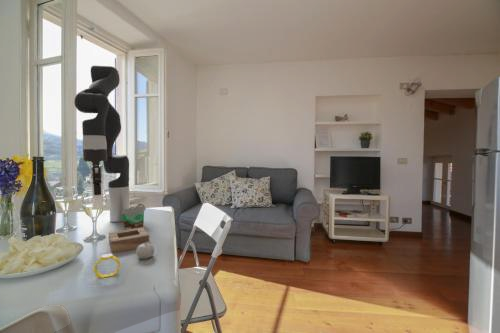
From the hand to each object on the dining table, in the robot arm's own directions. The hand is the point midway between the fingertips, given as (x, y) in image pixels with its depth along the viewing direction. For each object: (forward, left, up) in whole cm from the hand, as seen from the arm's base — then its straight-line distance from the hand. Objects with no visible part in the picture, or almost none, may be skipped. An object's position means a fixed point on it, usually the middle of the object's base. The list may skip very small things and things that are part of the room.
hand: (97, 193), depth 91 cm
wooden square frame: (+8, +9, -19) cm, 22 cm away
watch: (+31, +1, -19) cm, 37 cm away
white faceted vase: (0, 0, -5) cm, 5 cm away
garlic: (+24, +12, -19) cm, 33 cm away
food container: (-12, +15, -19) cm, 27 cm away
